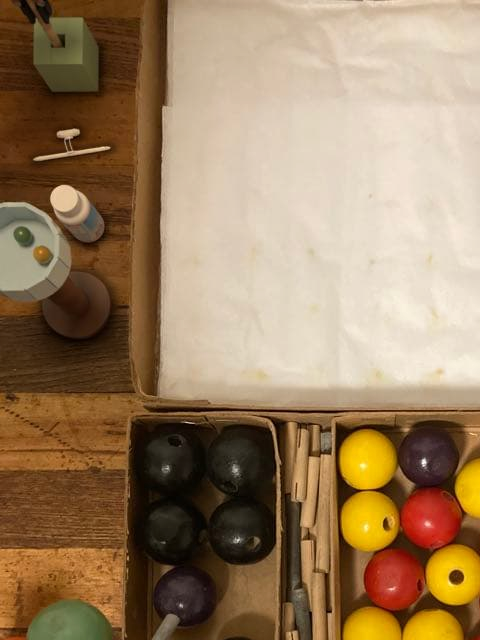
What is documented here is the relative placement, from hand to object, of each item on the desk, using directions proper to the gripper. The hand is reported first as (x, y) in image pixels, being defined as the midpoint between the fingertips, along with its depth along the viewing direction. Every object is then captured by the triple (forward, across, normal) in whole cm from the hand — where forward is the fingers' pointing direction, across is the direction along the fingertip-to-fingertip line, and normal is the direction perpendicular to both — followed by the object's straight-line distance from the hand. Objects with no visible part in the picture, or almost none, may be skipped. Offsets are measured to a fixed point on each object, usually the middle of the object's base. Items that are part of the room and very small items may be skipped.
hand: (40, 15), depth 138 cm
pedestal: (+15, +1, -44) cm, 46 cm away
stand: (+15, 0, 0) cm, 15 cm away
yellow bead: (-8, +4, -44) cm, 45 cm away
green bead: (-8, +1, -41) cm, 42 cm away
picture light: (+15, 0, -14) cm, 20 cm away
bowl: (-6, +1, -44) cm, 44 cm away
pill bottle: (+15, +3, -29) cm, 33 cm away
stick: (+11, 0, 0) cm, 11 cm away
